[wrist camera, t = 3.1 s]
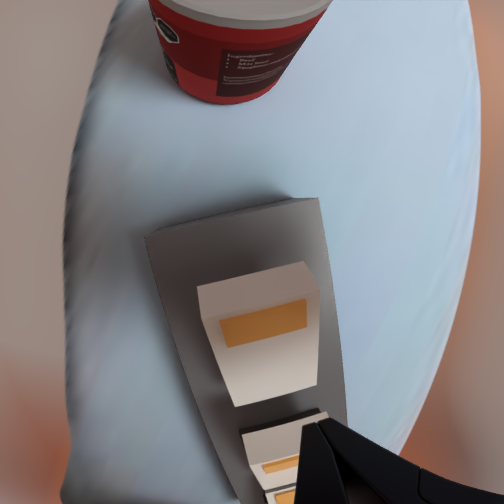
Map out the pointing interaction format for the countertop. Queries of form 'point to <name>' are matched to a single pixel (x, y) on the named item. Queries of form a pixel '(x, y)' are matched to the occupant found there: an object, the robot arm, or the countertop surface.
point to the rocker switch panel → (195, 337)
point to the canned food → (232, 43)
